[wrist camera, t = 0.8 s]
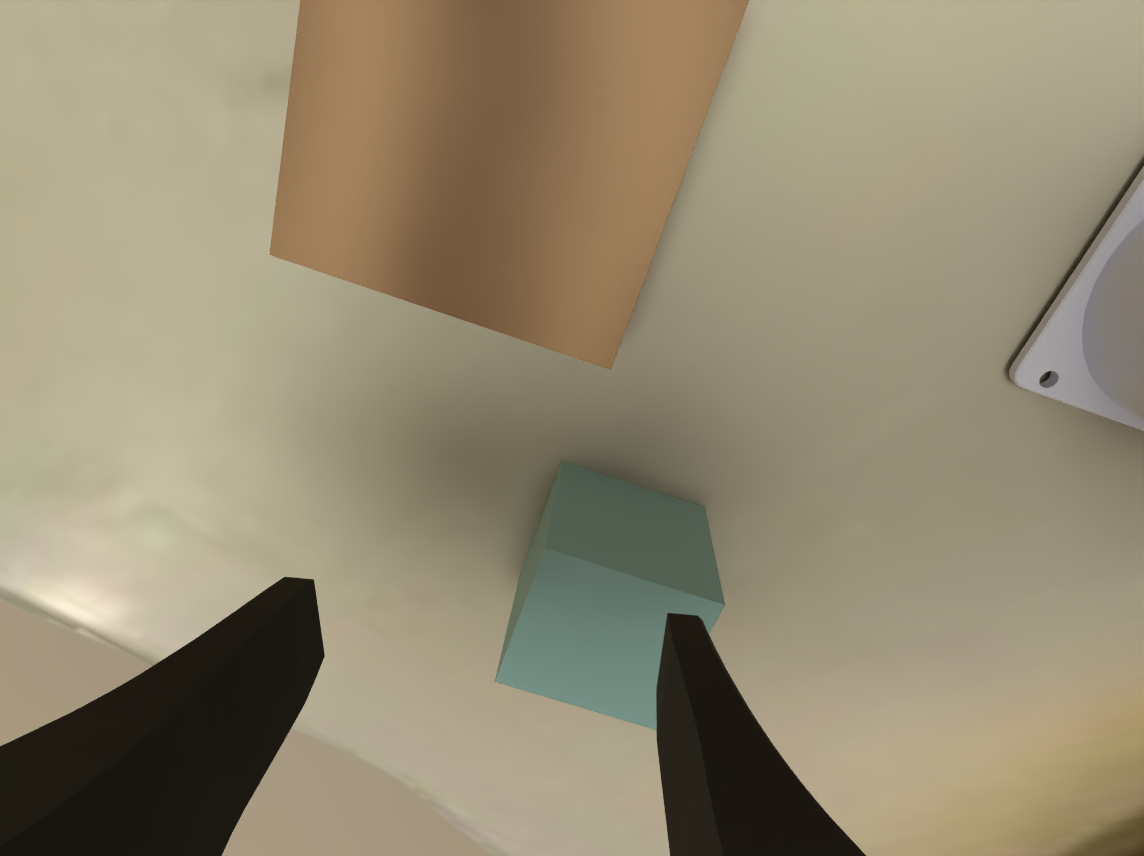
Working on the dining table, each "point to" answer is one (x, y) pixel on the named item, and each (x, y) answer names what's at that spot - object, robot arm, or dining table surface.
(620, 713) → the teal cube
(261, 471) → the dining table surface
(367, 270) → the walnut block
